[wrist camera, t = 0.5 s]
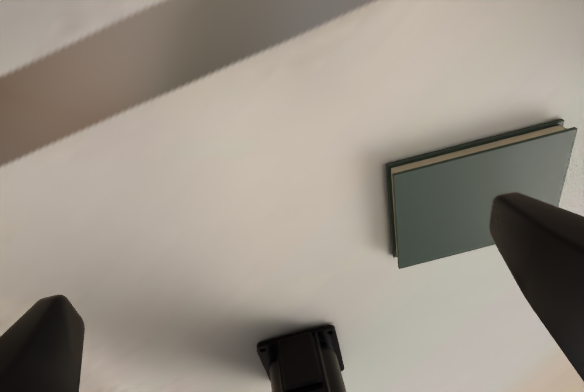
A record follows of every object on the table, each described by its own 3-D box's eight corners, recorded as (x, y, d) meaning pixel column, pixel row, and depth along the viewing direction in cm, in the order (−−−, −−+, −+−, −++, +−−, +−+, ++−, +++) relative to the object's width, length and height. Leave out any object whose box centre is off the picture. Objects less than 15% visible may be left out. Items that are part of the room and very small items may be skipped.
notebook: (540, 217, 29) (552, 229, 28) (392, 255, 29) (399, 269, 28) (561, 118, 25) (577, 128, 24) (385, 163, 25) (393, 175, 24)
